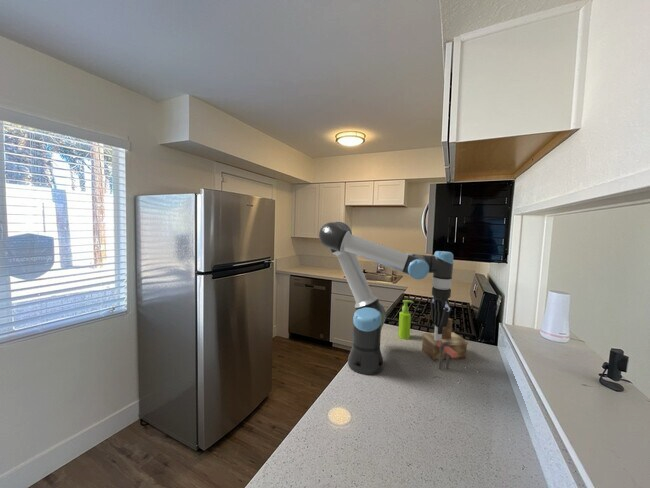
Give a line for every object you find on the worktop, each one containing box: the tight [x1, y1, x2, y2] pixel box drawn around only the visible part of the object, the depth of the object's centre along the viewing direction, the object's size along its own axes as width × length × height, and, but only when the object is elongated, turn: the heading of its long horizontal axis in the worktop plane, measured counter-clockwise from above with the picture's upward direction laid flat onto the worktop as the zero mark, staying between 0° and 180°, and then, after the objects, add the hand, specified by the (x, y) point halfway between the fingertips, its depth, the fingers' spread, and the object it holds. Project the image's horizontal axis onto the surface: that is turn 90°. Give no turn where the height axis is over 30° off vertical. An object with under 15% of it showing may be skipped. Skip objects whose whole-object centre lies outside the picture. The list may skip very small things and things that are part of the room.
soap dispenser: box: [397, 299, 415, 340], centre depth 145 cm, size 6×7×20 cm
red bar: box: [437, 341, 458, 358], centre depth 114 cm, size 2×11×2 cm, turn 10°
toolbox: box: [421, 336, 468, 371], centre depth 124 cm, size 18×17×12 cm
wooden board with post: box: [421, 317, 469, 346], centre depth 127 cm, size 17×11×11 cm, turn 100°
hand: (437, 339), depth 120 cm, fingers closed
